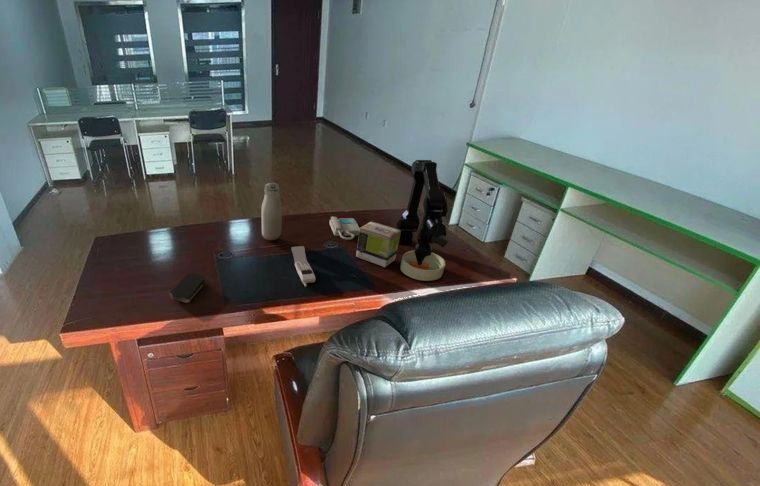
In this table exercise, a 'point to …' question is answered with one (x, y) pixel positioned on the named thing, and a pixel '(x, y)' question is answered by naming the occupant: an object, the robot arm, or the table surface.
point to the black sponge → (187, 287)
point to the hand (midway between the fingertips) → (420, 259)
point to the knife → (421, 266)
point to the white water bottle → (271, 212)
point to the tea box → (378, 243)
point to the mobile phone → (302, 265)
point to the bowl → (423, 274)
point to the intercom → (344, 227)
